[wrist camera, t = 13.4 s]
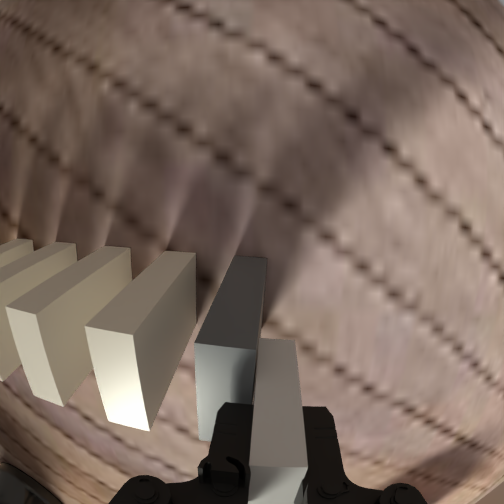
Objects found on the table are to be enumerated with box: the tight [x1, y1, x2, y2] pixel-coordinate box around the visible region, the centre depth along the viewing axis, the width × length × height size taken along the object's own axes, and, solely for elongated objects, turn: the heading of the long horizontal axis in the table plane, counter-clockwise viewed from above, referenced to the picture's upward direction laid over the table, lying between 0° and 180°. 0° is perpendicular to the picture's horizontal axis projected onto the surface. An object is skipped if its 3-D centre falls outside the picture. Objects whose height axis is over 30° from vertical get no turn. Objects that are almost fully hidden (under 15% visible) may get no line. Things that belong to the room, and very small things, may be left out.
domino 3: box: [0, 242, 77, 382], centre depth 16 cm, size 2×5×10 cm, turn 177°
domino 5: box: [85, 251, 196, 431], centre depth 16 cm, size 2×5×10 cm, turn 177°
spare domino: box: [194, 256, 267, 441], centre depth 15 cm, size 2×5×10 cm, turn 176°
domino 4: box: [5, 246, 132, 407], centre depth 16 cm, size 2×5×10 cm, turn 177°
